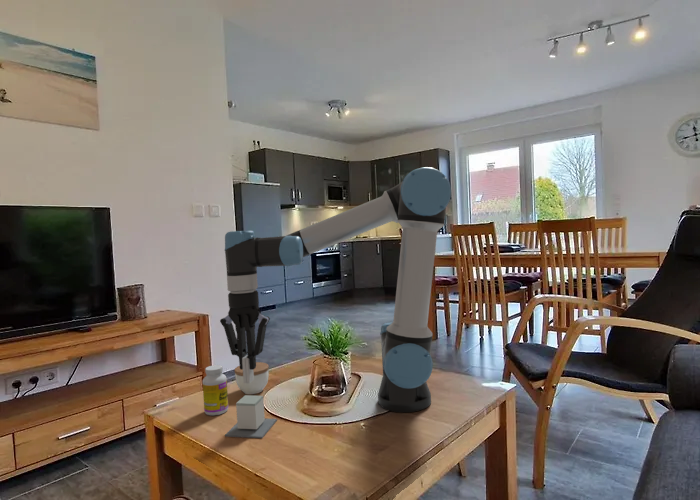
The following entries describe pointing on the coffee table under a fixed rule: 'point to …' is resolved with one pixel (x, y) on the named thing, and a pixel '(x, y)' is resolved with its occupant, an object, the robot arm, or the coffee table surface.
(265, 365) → the lidded jar
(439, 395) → the coffee table surface
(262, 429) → the coaster
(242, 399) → the pale grey block
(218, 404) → the supplement bottle
